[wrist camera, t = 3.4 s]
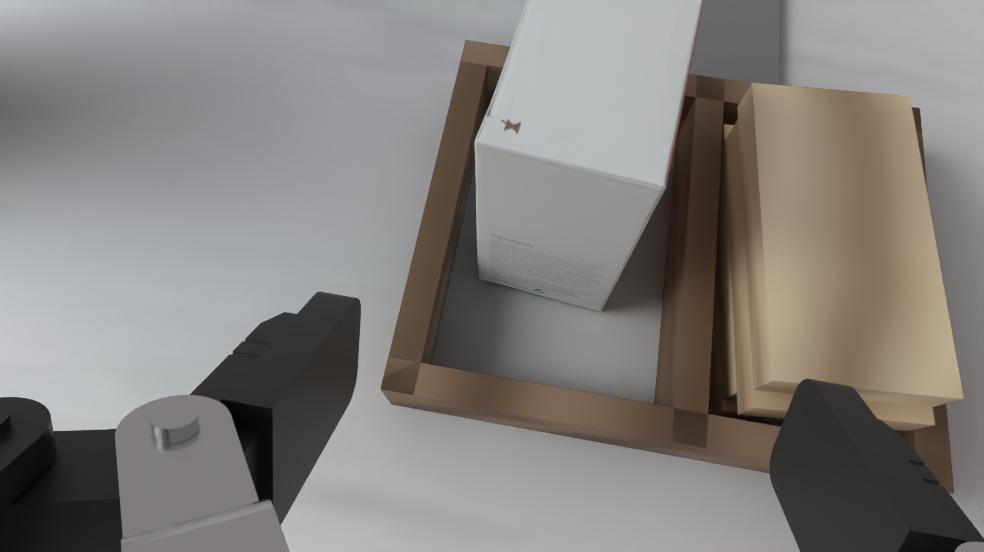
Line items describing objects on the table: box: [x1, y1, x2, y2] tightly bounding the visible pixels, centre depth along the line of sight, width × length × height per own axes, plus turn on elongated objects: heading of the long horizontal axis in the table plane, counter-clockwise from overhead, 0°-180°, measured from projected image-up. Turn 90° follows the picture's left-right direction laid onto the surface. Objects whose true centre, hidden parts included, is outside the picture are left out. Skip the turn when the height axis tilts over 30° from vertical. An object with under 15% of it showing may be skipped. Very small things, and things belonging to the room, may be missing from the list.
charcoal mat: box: [689, 0, 780, 85], centre depth 33 cm, size 12×9×1 cm
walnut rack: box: [381, 40, 954, 493], centre depth 26 cm, size 20×16×3 cm
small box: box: [474, 0, 704, 311], centre depth 24 cm, size 8×6×10 cm
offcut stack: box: [710, 83, 964, 431], centre depth 25 cm, size 6×12×6 cm, turn 175°
